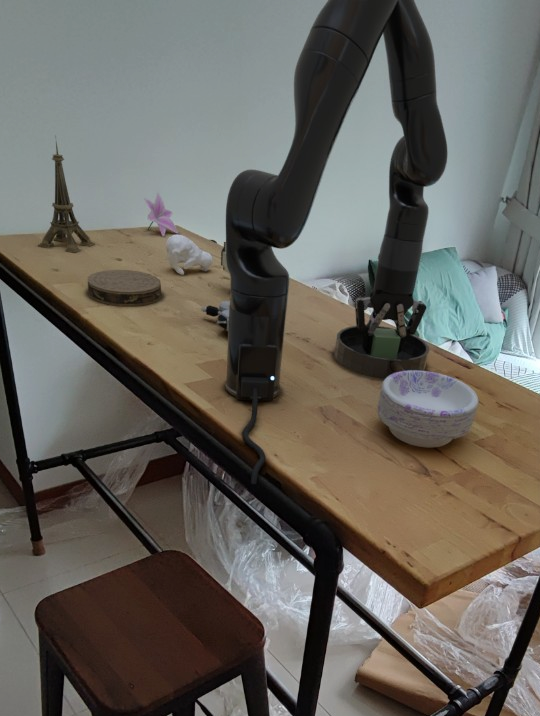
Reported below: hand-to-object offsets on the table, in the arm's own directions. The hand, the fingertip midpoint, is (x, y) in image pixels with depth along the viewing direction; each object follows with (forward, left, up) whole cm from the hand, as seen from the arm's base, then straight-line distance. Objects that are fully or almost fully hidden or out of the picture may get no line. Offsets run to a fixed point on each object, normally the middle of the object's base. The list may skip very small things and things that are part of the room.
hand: (381, 353), depth 127 cm
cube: (0, 0, -1) cm, 1 cm away
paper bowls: (-30, +1, -2) cm, 30 cm away
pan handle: (-13, 0, 0) cm, 13 cm away
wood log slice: (+33, +51, -2) cm, 61 cm away
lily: (+92, +44, -2) cm, 102 cm away
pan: (0, 0, -2) cm, 2 cm away
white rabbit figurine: (+54, +36, -2) cm, 65 cm away
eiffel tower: (+71, +68, -2) cm, 99 cm away
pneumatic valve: (+37, +25, -2) cm, 45 cm away
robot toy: (+15, +27, -2) cm, 31 cm away
